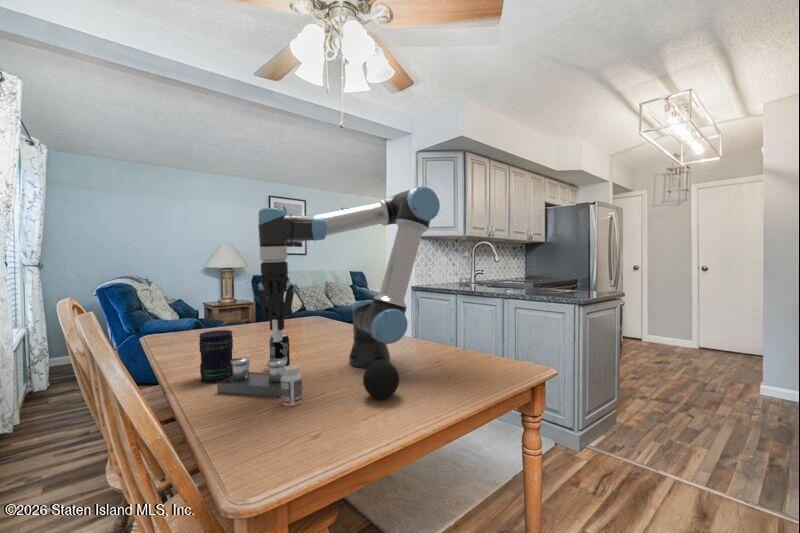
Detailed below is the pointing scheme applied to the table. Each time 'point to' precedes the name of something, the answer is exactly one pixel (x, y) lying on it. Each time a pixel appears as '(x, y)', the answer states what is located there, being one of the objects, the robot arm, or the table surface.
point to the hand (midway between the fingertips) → (277, 340)
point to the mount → (251, 386)
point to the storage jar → (216, 356)
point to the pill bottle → (291, 386)
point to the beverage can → (280, 349)
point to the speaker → (381, 379)
